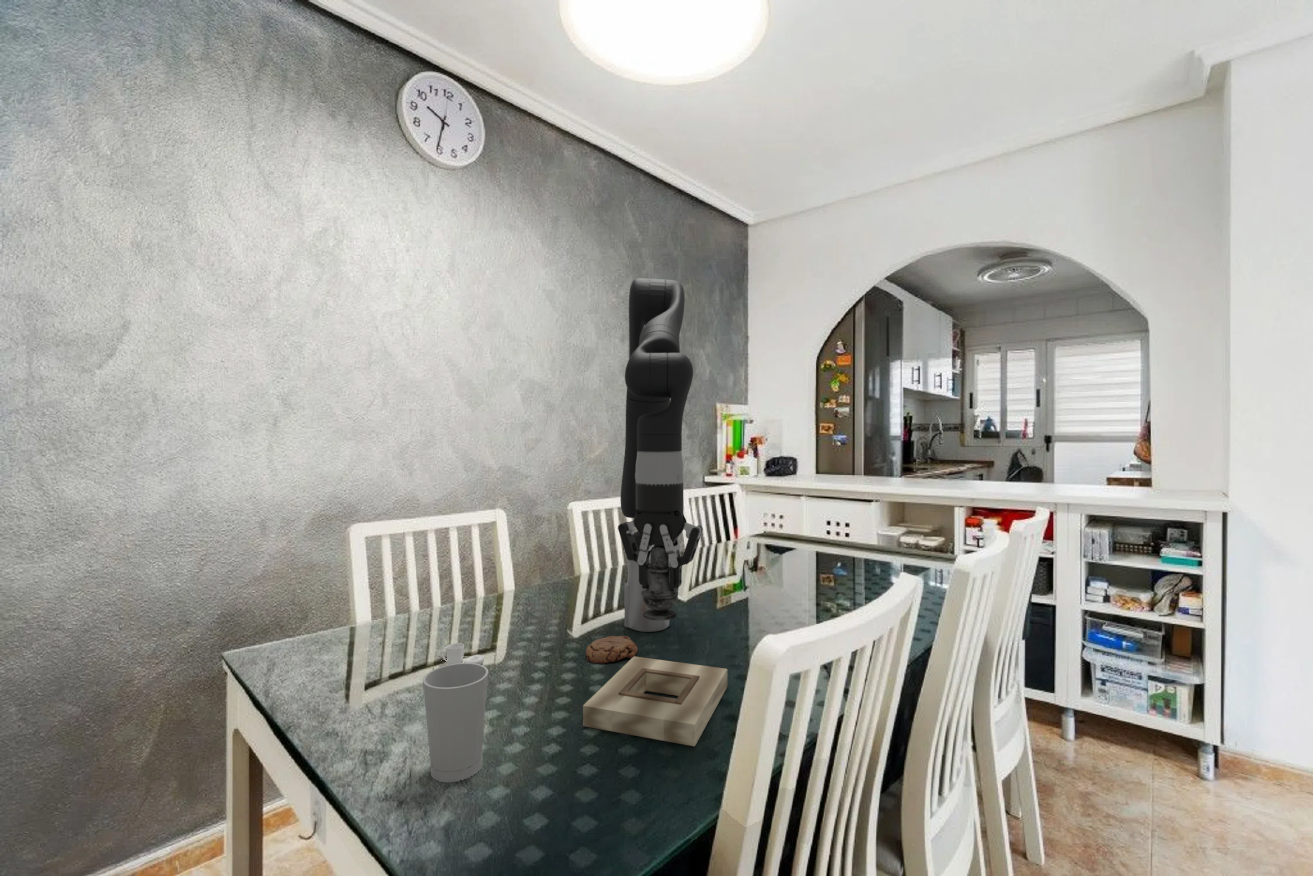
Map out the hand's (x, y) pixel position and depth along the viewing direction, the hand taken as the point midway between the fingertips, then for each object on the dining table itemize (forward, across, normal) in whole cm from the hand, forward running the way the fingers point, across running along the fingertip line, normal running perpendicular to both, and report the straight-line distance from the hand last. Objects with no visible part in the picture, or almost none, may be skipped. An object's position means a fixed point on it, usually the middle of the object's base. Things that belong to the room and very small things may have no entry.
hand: (660, 588), depth 93 cm
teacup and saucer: (+19, +39, 0) cm, 43 cm away
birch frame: (+18, 0, 0) cm, 18 cm away
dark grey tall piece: (+4, 0, 0) cm, 4 cm away
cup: (+19, +19, +25) cm, 37 cm away
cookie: (+19, +16, -17) cm, 30 cm away
